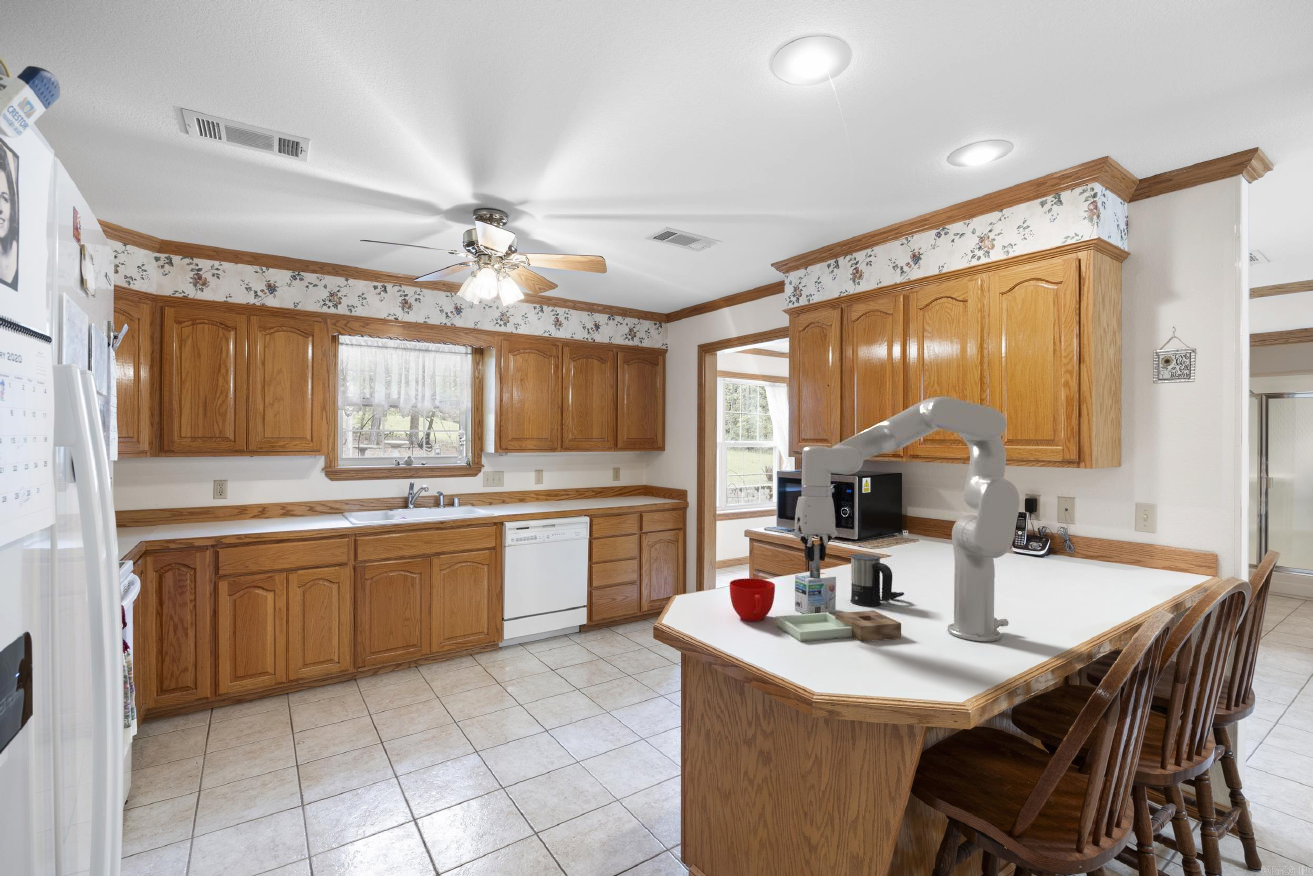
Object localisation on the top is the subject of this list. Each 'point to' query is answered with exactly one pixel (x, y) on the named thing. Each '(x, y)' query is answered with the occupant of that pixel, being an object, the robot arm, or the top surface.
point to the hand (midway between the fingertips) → (815, 559)
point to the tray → (813, 626)
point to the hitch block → (870, 625)
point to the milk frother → (870, 580)
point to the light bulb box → (815, 593)
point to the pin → (815, 560)
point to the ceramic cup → (752, 598)
